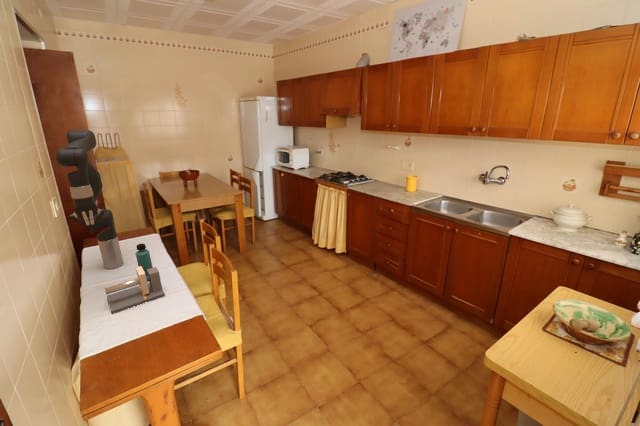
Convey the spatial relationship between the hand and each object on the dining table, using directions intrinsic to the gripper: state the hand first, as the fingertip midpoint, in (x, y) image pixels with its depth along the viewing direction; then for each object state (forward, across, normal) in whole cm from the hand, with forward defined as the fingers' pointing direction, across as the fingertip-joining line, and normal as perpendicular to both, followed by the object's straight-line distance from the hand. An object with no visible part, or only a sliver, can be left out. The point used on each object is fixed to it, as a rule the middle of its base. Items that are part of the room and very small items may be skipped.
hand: (92, 231), depth 138 cm
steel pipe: (+27, -8, +12) cm, 30 cm away
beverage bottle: (+33, -18, -3) cm, 38 cm away
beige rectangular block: (+30, -14, +12) cm, 35 cm away
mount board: (+33, -9, +12) cm, 36 cm away
